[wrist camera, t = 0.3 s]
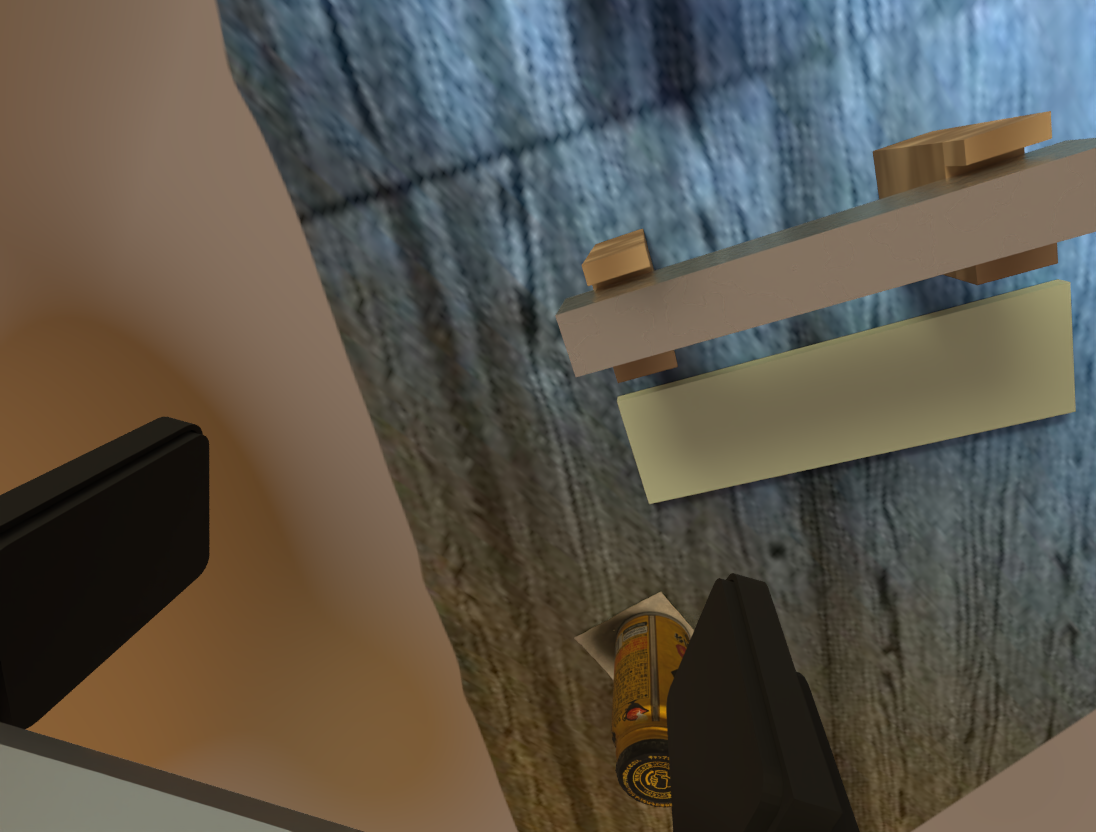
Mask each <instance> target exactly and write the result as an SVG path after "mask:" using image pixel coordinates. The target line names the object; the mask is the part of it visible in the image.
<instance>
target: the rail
mask: <svg viewBox="0 0 1096 832" xmlns="http://www.w3.org/2000/svg"><path fill="white" fill-rule="evenodd" d="M1092 232H1096V138H1087V139H1077V140H1066V141H1063V142H1060V143H1056V144H1053V145H1050V146H1047V147H1044V148H1041V149H1037V150H1034V151H1031V152H1028V153H1025V154H1022V155H1018V156H1015V157H1012V158H1009V159H1006V160H1003V161H999V162H996V163H993V164H990V165H987V166H984V167H980V168H977V169H974V170H971V171H968V172H965V173H962V174H958V175H955V176H952V177H949V178H946V179H943V180H939V181H936V182H933V183H930V184H927V185H924V186H920V187H917V188H914V189H911V190H908V191H905V192H901V193H898V194H895V195H892V196H889V197H886V198H882V199H879V200H876V201H873V202H870V203H867V204H863V205H860V206H857V207H854V208H851V209H848V210H844V211H841V212H838V213H835V214H832V215H829V216H826V217H822V218H819V219H816V220H813V221H810V222H807V223H803V224H800V225H797V226H794V227H791V228H788V229H784V230H781V231H778V232H775V233H772V234H769V235H765V236H762V237H759V238H756V239H753V240H750V241H746V242H743V243H740V244H737V245H734V246H731V247H727V248H724V249H721V250H718V251H715V252H712V253H709V254H705V255H702V256H699V257H696V258H693V259H690V260H686V261H683V262H680V263H677V264H674V265H671V266H667V267H664V268H661V269H658V270H655V271H652V272H648V273H645V274H642V275H639V276H636V277H633V278H629V279H626V280H623V281H620V282H617V283H614V284H610V285H607V286H604V287H601V288H598V289H595V290H591V291H588V292H585V293H582V294H579V295H576V296H573V297H569V298H566V299H565V300H564V302H563V304H562V305H561V307H560V309H559V310H558V312H557V313H556V315H555V316H556V319H557V322H558V325H559V328H560V331H561V334H562V337H563V340H564V343H565V346H566V349H567V352H568V355H569V358H570V361H571V364H572V367H573V370H574V373H575V376H576V377H578V376H582V375H585V374H589V373H592V372H596V371H600V370H603V369H607V368H610V367H614V366H617V365H621V364H625V363H628V362H632V361H635V360H639V359H642V358H646V357H650V356H653V355H657V354H660V353H664V352H667V351H671V350H675V349H678V348H682V347H685V346H689V345H692V344H696V343H700V342H703V341H707V340H710V339H714V338H717V337H721V336H725V335H728V334H732V333H735V332H739V331H742V330H746V329H750V328H753V327H757V326H760V325H764V324H767V323H771V322H774V321H778V320H782V319H785V318H789V317H792V316H796V315H799V314H803V313H807V312H810V311H814V310H817V309H821V308H824V307H828V306H832V305H835V304H839V303H842V302H846V301H849V300H853V299H857V298H860V297H864V296H867V295H871V294H874V293H878V292H882V291H885V290H889V289H892V288H896V287H899V286H903V285H907V284H910V283H914V282H917V281H921V280H924V279H928V278H932V277H935V276H939V275H942V274H946V273H949V272H953V271H957V270H960V269H964V268H967V267H971V266H974V265H978V264H982V263H985V262H989V261H992V260H996V259H999V258H1003V257H1007V256H1010V255H1014V254H1017V253H1021V252H1024V251H1028V250H1032V249H1035V248H1039V247H1042V246H1046V245H1049V244H1053V243H1057V242H1060V241H1064V240H1067V239H1071V238H1074V237H1078V236H1082V235H1085V234H1089V233H1092Z"/></svg>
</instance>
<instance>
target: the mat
mask: <svg viewBox="0 0 1096 832" xmlns="http://www.w3.org/2000/svg"><path fill="white" fill-rule="evenodd" d="M617 403H618V406H619V409H620V412H621V416H622V419H623V422H624V425H625V428H626V432H627V435H628V438H629V441H630V444H631V448H632V451H633V454H634V457H635V460H636V464H637V467H638V470H639V473H640V476H641V480H642V483H643V486H644V489H645V492H646V496H647V499H648V502H649V504H652V503H657V502H661V501H666V500H670V499H675V498H680V497H684V496H689V495H693V494H698V493H703V492H707V491H712V490H716V489H721V488H726V487H730V486H735V485H739V484H744V483H749V482H753V481H758V480H763V479H767V478H772V477H776V476H781V475H786V474H790V473H795V472H799V471H804V470H809V469H813V468H818V467H822V466H827V465H832V464H836V463H841V462H845V461H850V460H855V459H859V458H864V457H869V456H873V455H878V454H882V453H887V452H892V451H896V450H901V449H905V448H910V447H915V446H919V445H924V444H928V443H933V442H938V441H942V440H947V439H951V438H956V437H961V436H965V435H970V434H975V433H979V432H984V431H988V430H993V429H998V428H1002V427H1007V426H1011V425H1016V424H1021V423H1025V422H1030V421H1034V420H1039V419H1044V418H1048V417H1053V416H1057V415H1062V414H1067V413H1071V412H1076V411H1075V387H1074V363H1073V339H1072V315H1071V291H1070V282H1067V281H1063V280H1059V279H1058V280H1054V281H1050V282H1046V283H1043V284H1039V285H1035V286H1031V287H1028V288H1024V289H1020V290H1016V291H1013V292H1009V293H1005V294H1001V295H998V296H994V297H990V298H986V299H983V300H979V301H975V302H971V303H968V304H964V305H960V306H956V307H953V308H949V309H945V310H941V311H938V312H934V313H930V314H926V315H923V316H919V317H915V318H911V319H908V320H904V321H900V322H896V323H893V324H889V325H885V326H881V327H878V328H874V329H870V330H866V331H863V332H859V333H855V334H851V335H848V336H844V337H840V338H836V339H833V340H829V341H825V342H821V343H817V344H814V345H810V346H806V347H802V348H799V349H795V350H791V351H787V352H784V353H780V354H776V355H772V356H769V357H765V358H761V359H757V360H754V361H750V362H746V363H742V364H739V365H735V366H731V367H727V368H724V369H720V370H716V371H712V372H709V373H705V374H701V375H697V376H694V377H690V378H686V379H682V380H679V381H675V382H671V383H667V384H664V385H660V386H656V387H652V388H649V389H645V390H641V391H637V392H634V393H630V394H626V395H622V396H619V397H618V398H617Z"/></svg>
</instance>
